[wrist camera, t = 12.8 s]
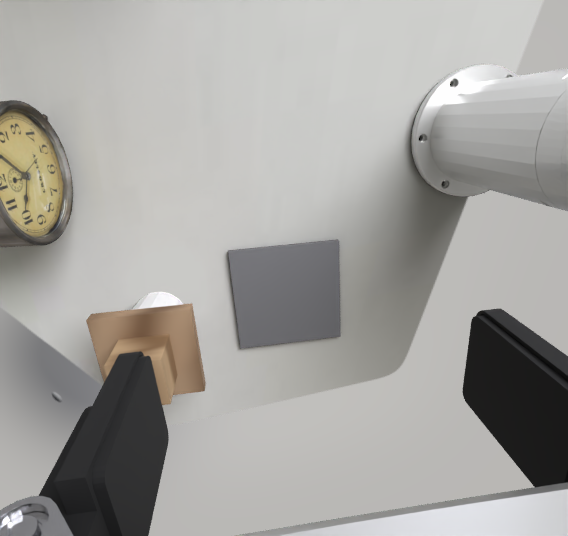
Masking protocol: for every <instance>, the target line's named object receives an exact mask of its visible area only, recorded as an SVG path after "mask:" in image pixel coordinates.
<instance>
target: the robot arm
mask: <svg viewBox="0 0 568 536" xmlns="http://www.w3.org/2000/svg"><path fill="white" fill-rule="evenodd" d="M450 82H451V86H450ZM419 136H421V139H420V140H419ZM411 144H412V155H413V158H414V162H415V165H416V167H417V169H418V171H419V173H420V175H421V176H422V177H423V178H424V180H425V181H426V182H427V183H428V184H429V185H431V186H432V187H433V188H435V189H437V190H439V191H441V192H443V193H446V194H449V195H452V196H460V197H466V196H475V195H478V194H482V193H485V192H487V191H489V190H493V191H496V192H500V193H504V194H507V195H510V196H514V197H518V198H521V199H525V200H529V201H532V202H536V203H539V204H543V205H546V206H550V207H554V208H558V209H561V210H565V211H568V68H565V69H559V70H553V71H546V72H540V73H534V74H528V75H522V76H518V75H517V74H516V73H514V72H512V71H511V70H509V69H507V68H506V67H502V66H499V65H496V64H478V65H472V66H468V67H465V68H462V69H459V70H457V71H455V72H453V73H451V74H449V75H448V76H447V77H445V78H444V79H443V80H441V81H440V82H439V83H438V84H437V85H436V86H435V87H434V88H433V89H432V90H431V91H430V92H429V94H428V95H427V97H426V98H425V100H424V101H423V103H422V104H421V106H420V109H419V111H418V113H417V115H416V118H415V122H414V126H413V129H412V140H411ZM442 182H443V184H442ZM441 184H442V185H441ZM463 396H464V399H465V401H466V403H467V404H468V405H469V406H470V408H471V409H472V410H473V411H474V413H475V414H476V415H477V416H478V418H479V419H480V420H481V421H482V422H483V424H484V425H485V426H486V427H487V429H488V430H489V431H490V432H491V434H492V435H493V436H494V437H495V439H496V440H497V441H498V442H499V444H500V445H501V446H502V447H503V448H504V450H505V451H506V452H507V453H508V455H509V456H510V457H511V458H512V460H513V461H514V462H515V463H516V465H517V466H518V467H519V468H520V469H521V471H522V472H523V473H524V474H525V476H526V477H527V478H528V479H529V480H530V482H531V483H532V484H533V486H535V488H529V489H522V490H516V491H509V492H502V493H496V494H489V495H483V496H476V497H470V498H463V499H457V500H451V501H445V502H438V503H432V504H425V505H419V506H413V507H407V508H401V509H395V510H388V511H383V512H376V513H370V514H364V515H357V516H351V517H345V518H338V519H333V520H326V521H320V522H315V523H308V524H303V525H296V526H290V527H284V528H278V529H272V530H266V531H260V532H255V533H248V534H242V535H236V536H568V356H566V355H565V354H564V353H562V352H561V351H559V350H558V349H557V348H555V347H554V346H553V345H551V344H550V343H548V342H547V341H545V340H544V339H543V338H541V337H540V336H539V335H537V334H536V333H534V332H533V331H532V330H530V329H529V328H527V327H526V326H525V325H523V324H522V323H520V322H519V321H518V320H516V319H515V318H513V317H512V316H511V315H509V314H508V313H506V312H505V311H504V310H502V309H492V310H484V311H480V312H478V313H477V315H476V316H475V317H473V319H472V322H471V330H470V337H469V345H468V353H467V360H466V369H465V376H464V384H463ZM167 446H168V429H167V425H166V420H165V416H164V412H163V407H162V403H161V399H160V395H159V390H158V386H157V382H156V378H155V373H154V369H153V365H152V361H151V358H150V356H144V354H143V353H142V352H141V351H139V352H131V353H122V354H119V355H118V357H117V359H116V361H115V363H114V365H113V367H112V369H111V371H110V372H109V374H108V376H107V378H106V380H105V382H104V384H103V386H102V389H101V390H100V392H99V394H98V396H97V398H96V400H95V402H94V404H93V406H91V407H88V408H86V409H85V410H84V412H83V413H82V415H81V417H80V419H79V421H78V422H77V424H76V427H75V428H74V430H73V432H72V434H71V436H70V438H69V440H68V442H67V443H66V445H65V447H64V449H63V451H62V453H61V455H60V457H59V459H58V460H57V462H56V464H55V466H54V468H53V470H52V472H51V473H50V475H49V477H48V479H47V481H46V483H45V485H44V487H43V489H42V490H41V492H40V494H39V496H34V497H28V498H25V499H22V500H19V501H16V502H14V503H13V504H10V505H9V506H7V507H5V508H3V509H2V510H0V536H148V534H149V530H150V525H151V520H152V515H153V511H154V506H155V502H156V497H157V492H158V488H159V483H160V479H161V474H162V469H163V464H164V460H165V455H166V450H167Z"/></svg>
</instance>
